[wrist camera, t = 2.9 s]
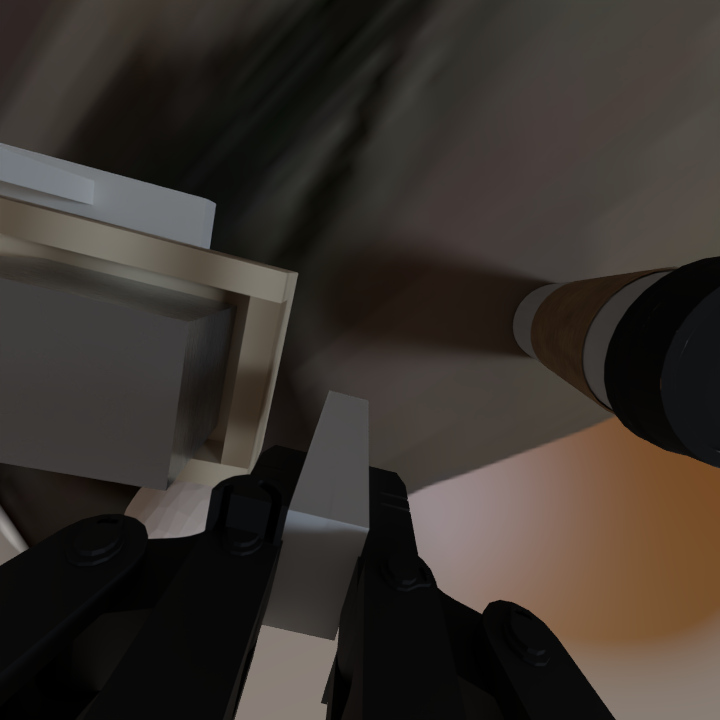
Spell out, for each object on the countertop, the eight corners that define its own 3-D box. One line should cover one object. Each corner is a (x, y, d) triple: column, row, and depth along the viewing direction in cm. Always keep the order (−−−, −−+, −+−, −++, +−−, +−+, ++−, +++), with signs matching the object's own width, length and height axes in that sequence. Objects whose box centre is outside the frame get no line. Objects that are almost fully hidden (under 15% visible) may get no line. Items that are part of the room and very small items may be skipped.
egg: (161, 475, 30) (42, 589, 19) (211, 413, 29) (114, 498, 18) (233, 525, 31) (159, 660, 20) (284, 468, 30) (236, 580, 19)
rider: (38, 390, 15) (-100, 445, 10) (42, 257, 14) (-115, 250, 9) (217, 426, 16) (166, 490, 11) (237, 305, 15) (189, 322, 10)
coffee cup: (504, 384, 27) (659, 502, 13) (488, 282, 26) (648, 285, 11) (609, 360, 27) (897, 457, 12) (600, 254, 25) (928, 218, 10)
